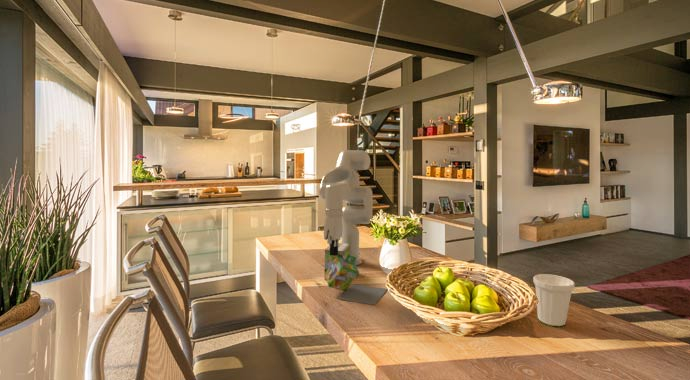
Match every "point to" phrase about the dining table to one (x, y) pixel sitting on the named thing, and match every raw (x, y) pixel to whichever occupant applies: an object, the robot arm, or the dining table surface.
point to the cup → (553, 298)
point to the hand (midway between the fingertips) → (333, 255)
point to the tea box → (342, 250)
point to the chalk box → (342, 272)
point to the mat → (363, 294)
